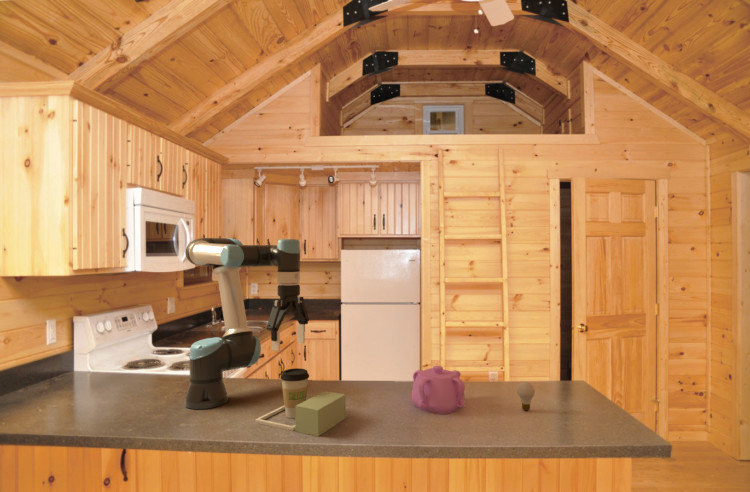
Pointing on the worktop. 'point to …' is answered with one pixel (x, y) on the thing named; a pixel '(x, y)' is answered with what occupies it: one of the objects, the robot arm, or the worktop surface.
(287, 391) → the coffee cup
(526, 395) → the light bulb
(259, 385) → the worktop surface
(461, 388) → the pink pot with handles
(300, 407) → the green block with frame
